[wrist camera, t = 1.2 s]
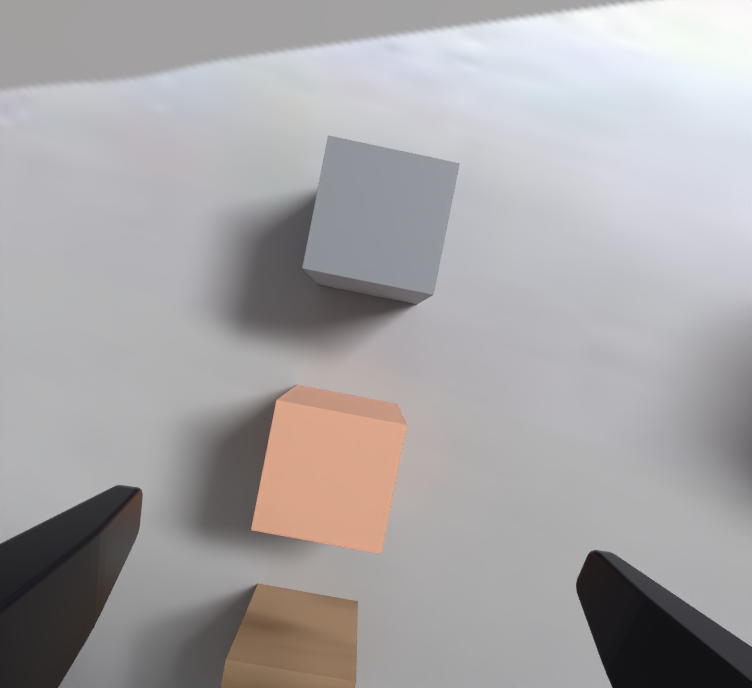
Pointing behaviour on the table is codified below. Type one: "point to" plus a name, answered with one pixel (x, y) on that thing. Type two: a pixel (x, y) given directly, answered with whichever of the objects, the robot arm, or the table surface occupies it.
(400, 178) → the grey cube
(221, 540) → the table surface
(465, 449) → the table surface
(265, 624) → the walnut cube
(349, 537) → the terracotta cube
